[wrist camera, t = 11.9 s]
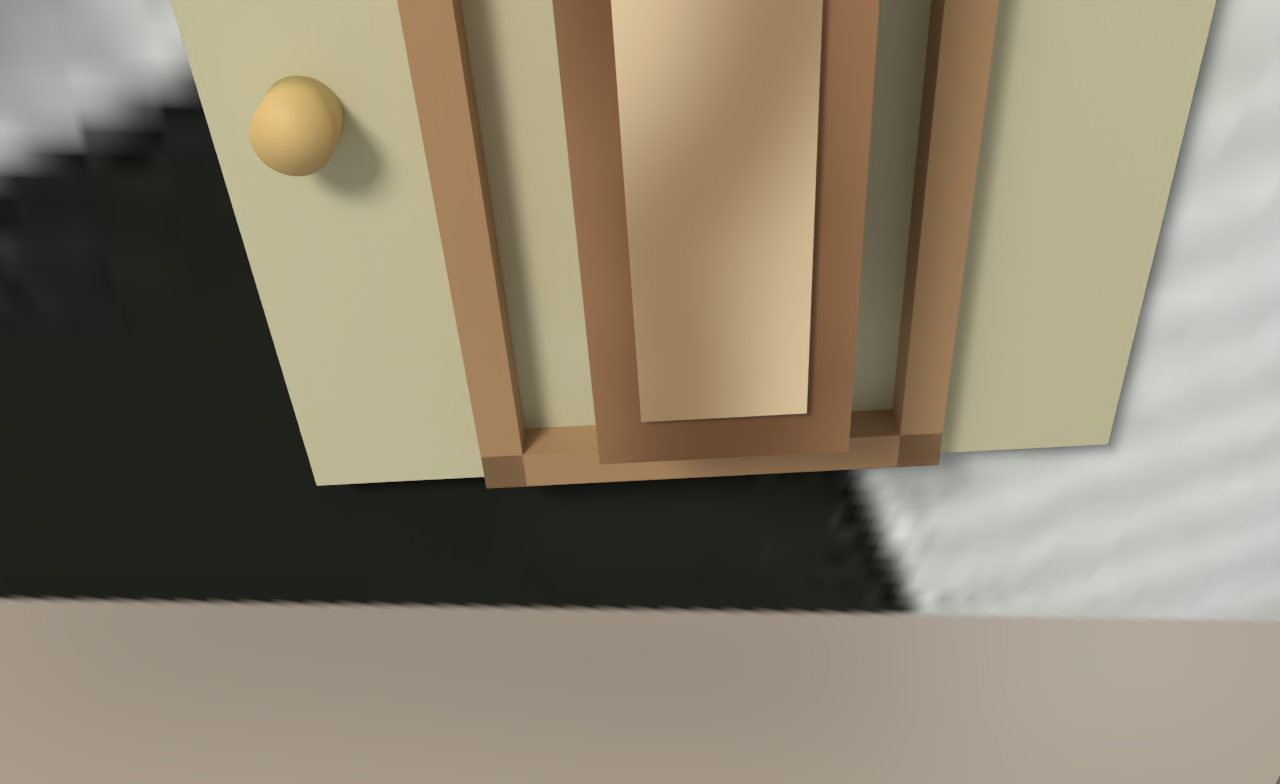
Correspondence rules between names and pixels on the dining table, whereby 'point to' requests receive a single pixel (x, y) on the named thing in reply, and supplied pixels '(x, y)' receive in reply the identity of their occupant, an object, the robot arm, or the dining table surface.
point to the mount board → (547, 245)
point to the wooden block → (719, 218)
